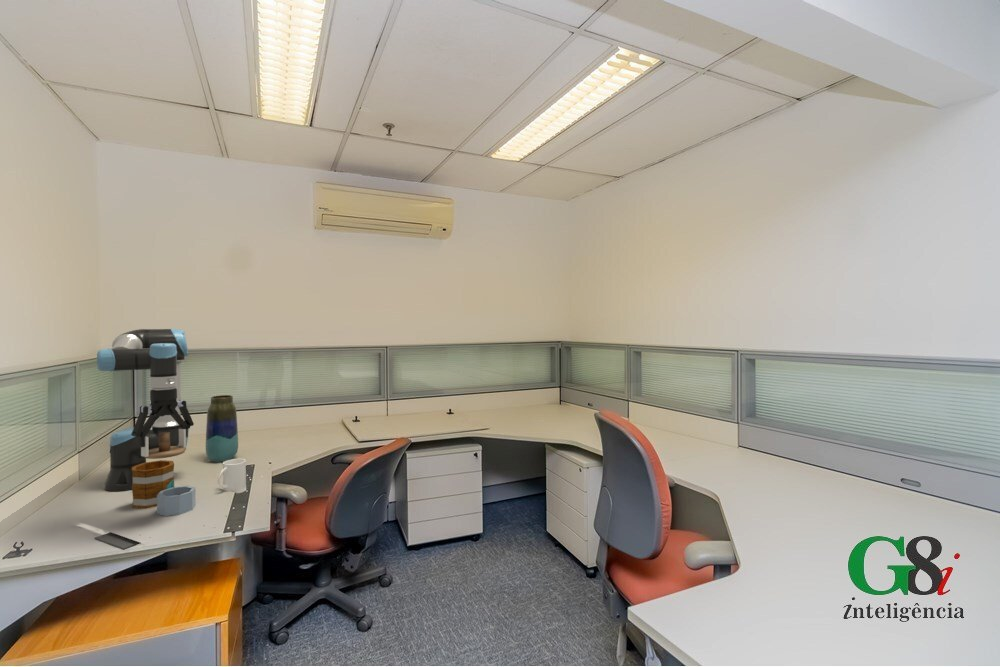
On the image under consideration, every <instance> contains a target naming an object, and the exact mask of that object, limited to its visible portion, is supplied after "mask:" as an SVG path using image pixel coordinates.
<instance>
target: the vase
mask: <svg viewBox="0 0 1000 667" xmlns="http://www.w3.org/2000/svg"><path fill="white" fill-rule="evenodd" d="M233 398H234V396H233V395H231V394H230V395H228V394H223V395H222V394H220V395H213V396H211V397H210V404H209V406H208V409H207V411H206V429H205V454H206V456H207V458H208V459H209V460H210V461H211V462H213V463H214V462H215V463H223V462H225V461H227V460H232V459H235V456H236V455H237V453H238V451H239V431H238V417H237V416H238V414H237V407H236V405H235V403H234V399H233Z"/></svg>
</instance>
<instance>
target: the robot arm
mask: <svg viewBox="0 0 1000 667" xmlns="http://www.w3.org/2000/svg"><path fill="white" fill-rule="evenodd" d="M187 356H189V351H188V343H187V338H186V333H185V330H182V329H179V328H175V329H174V328H159V329H158V328H150V329H149V328H148V329H147V328H145V329H144V328H139V329H134V330H130V331H126V332H124V333H122V334H121V333H120V334H119V335H118V336H117V337H115V339H113V341H112V343H111V348H103V349H99V350H98V351H97V354H96V366H97V370H99V371H100V372H116V371H118V372H119V371H140V370H149V372H150V374H149V388H150V390H149V396H150V397H149V399H150V404H149V405H140V407H139V414H138V416H137V418H136V421H135V424H134V427H133V426H132V427H128V428H124V429H121V430H118V431H116V432H113V433H112V434H111V436H110V440H109V448H110V449H109V450H110V451H109V452H110V457H109V458H110V459H109V460H110V461H109V462H110V464H109V465H110V467H109V468H110V470H109V472H108V474H107V478H106V479H105V480H106V481H105V483H104V489H105V491H109V492H125V491H132V482H133V474H132V467H133V466H136V465H139V464H142V463H146V462H147V458H144V457H148V456H149V450H150V449H154V448H159V433H162V432H170V446H181V447H185V451H186V450H187V446H188V440H189V431H190V428H191V427H193V426H194V425H195V423H194V421H193V419H192V416H191V414H190V412H189V409H188V406H187V401H186V400H182V396H181V395H182V394H181V390H182V389H181V380H182V379H181V364H182V363H183V362H185V359H186V358H185V357H187ZM149 412H150V414H149ZM148 415H149V416H148ZM146 419H147V420H146ZM143 456H144V457H143Z"/></svg>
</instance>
